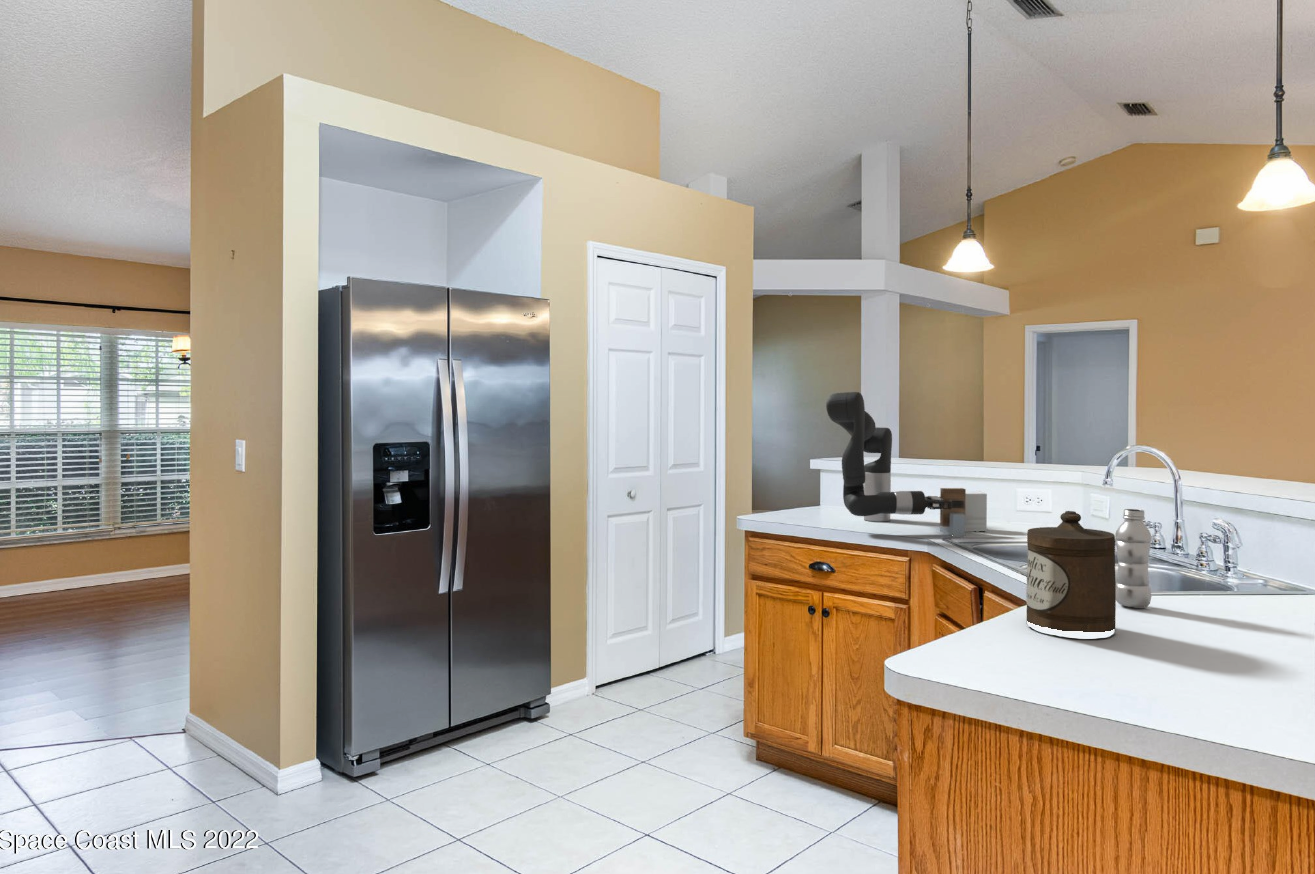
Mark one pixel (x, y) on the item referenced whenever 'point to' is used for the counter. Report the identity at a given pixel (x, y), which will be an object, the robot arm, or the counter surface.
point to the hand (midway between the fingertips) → (958, 502)
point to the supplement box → (975, 511)
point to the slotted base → (955, 525)
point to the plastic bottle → (1133, 560)
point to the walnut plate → (952, 495)
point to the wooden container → (1071, 577)
